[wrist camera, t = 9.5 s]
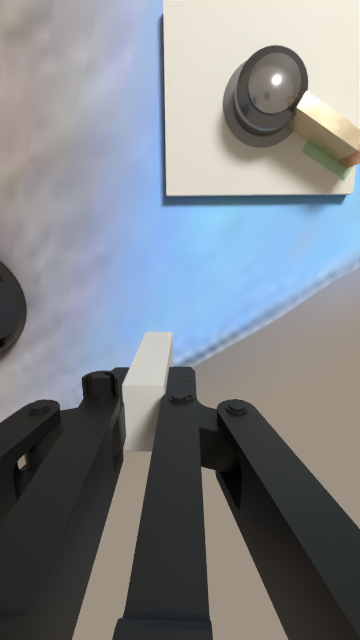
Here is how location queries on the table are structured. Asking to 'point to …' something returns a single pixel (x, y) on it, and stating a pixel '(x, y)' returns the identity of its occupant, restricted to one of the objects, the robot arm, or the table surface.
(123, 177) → the table surface
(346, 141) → the peg dial
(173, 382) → the robot arm
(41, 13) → the table surface
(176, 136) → the board
